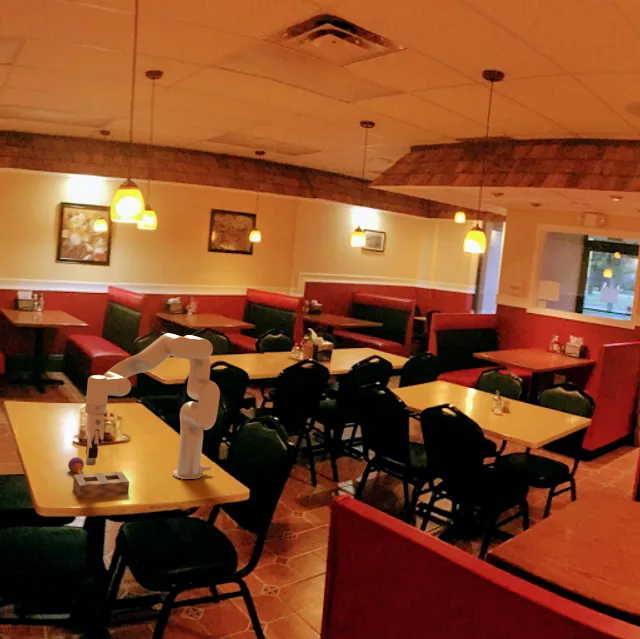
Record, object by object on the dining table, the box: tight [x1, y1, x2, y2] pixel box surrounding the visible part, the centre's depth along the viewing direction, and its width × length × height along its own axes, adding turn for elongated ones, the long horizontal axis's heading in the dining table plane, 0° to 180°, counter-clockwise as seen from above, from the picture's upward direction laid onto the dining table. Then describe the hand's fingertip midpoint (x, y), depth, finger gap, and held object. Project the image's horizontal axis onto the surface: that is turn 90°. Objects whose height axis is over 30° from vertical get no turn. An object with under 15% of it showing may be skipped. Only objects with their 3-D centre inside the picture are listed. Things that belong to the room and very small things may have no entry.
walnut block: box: [72, 470, 130, 500], centre depth 248 cm, size 18×12×5 cm, turn 121°
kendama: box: [67, 457, 85, 475], centre depth 260 cm, size 6×6×20 cm
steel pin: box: [85, 437, 97, 466], centre depth 244 cm, size 4×4×10 cm
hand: (91, 455), depth 244 cm, fingers closed on steel pin, 3 cm apart
